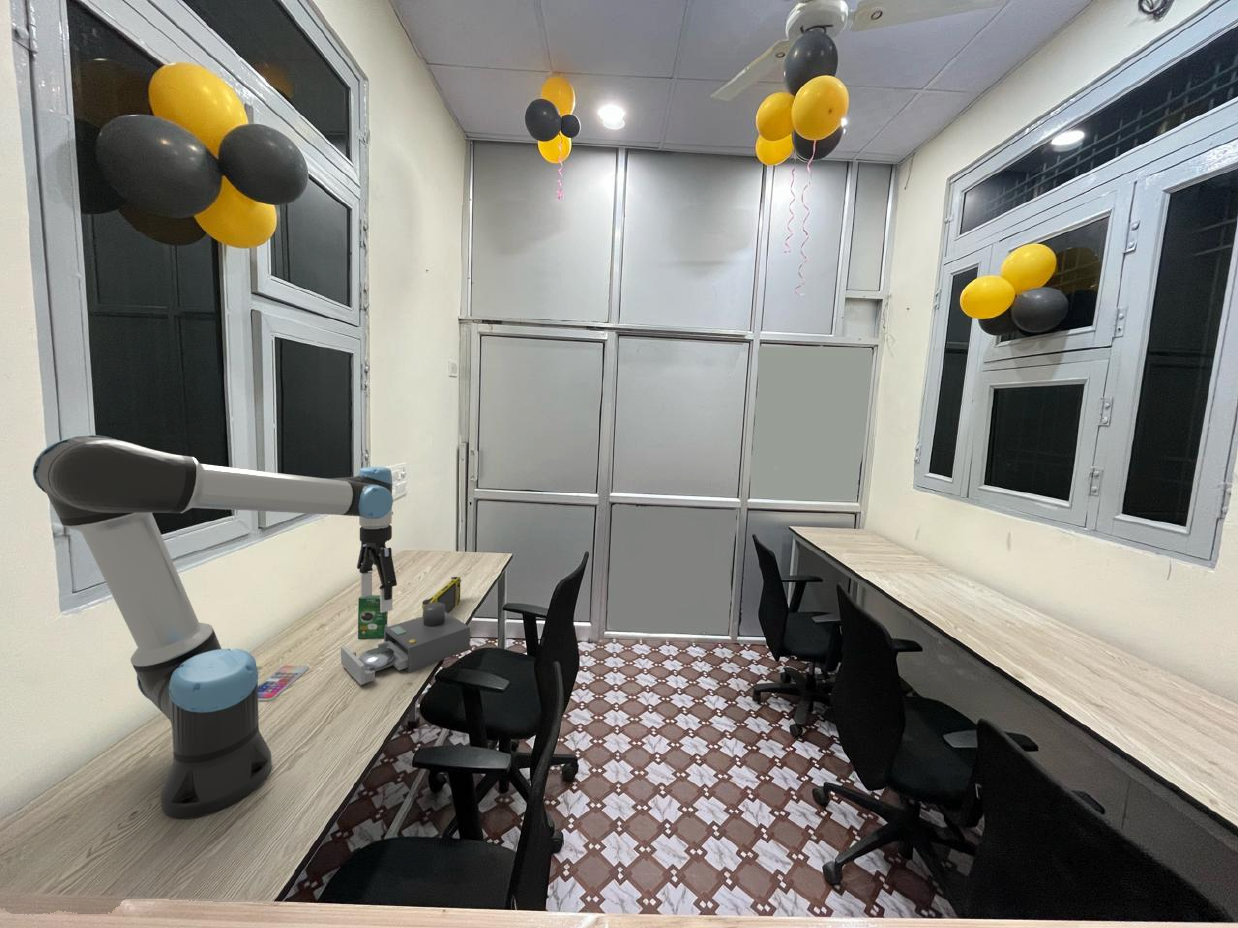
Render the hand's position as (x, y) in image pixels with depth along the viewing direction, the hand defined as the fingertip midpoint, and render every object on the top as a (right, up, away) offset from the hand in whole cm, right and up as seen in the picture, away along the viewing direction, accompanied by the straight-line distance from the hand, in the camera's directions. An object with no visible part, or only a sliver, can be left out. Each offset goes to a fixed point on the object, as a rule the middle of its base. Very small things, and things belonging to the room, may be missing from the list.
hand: (376, 603), depth 120 cm
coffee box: (-11, -17, +19) cm, 27 cm away
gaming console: (+4, -16, +36) cm, 40 cm away
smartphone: (-21, -19, -7) cm, 29 cm away
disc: (-1, -16, +2) cm, 16 cm away
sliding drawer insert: (+1, -17, +3) cm, 17 cm away
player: (+8, -18, +13) cm, 23 cm away
